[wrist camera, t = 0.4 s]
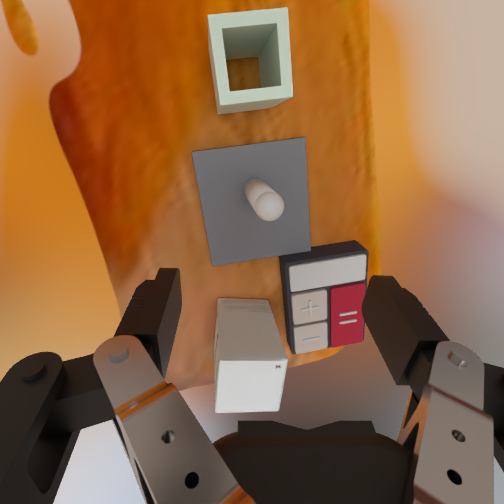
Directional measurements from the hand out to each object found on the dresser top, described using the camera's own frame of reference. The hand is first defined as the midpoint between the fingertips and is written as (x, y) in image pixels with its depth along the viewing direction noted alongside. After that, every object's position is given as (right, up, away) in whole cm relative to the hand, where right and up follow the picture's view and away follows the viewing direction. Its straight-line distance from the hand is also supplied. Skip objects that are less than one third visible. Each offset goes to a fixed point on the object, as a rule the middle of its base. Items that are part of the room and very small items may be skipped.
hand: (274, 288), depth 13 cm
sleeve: (-2, +20, +20) cm, 28 cm away
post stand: (-1, +8, +25) cm, 26 cm away
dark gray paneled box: (+9, -4, +31) cm, 33 cm away
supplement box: (-3, -8, +31) cm, 32 cm away
